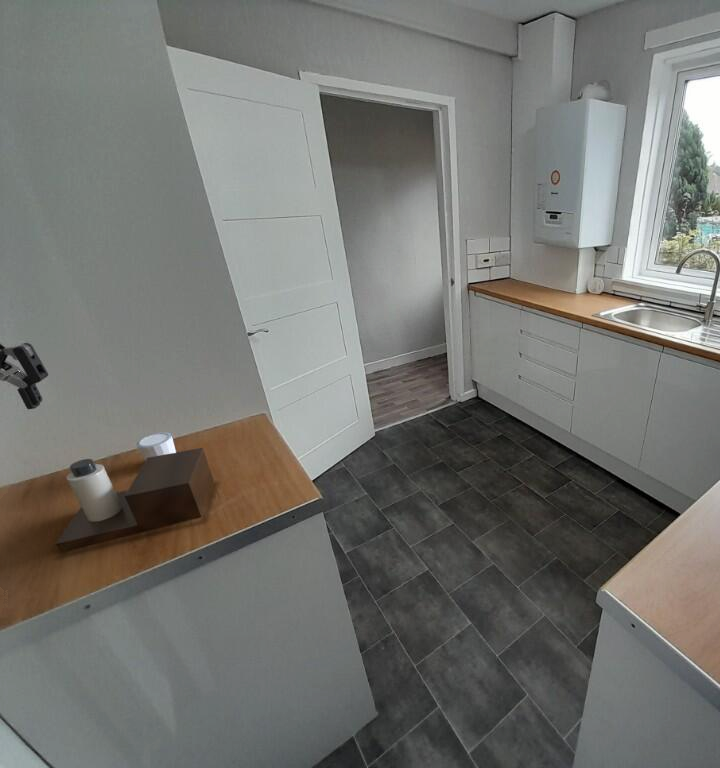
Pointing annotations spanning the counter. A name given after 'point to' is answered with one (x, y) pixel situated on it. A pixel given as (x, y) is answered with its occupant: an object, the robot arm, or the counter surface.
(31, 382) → the robot arm
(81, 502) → the white bottle
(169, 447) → the white short tapered cylinder
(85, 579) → the counter surface
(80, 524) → the stepped wooden block
